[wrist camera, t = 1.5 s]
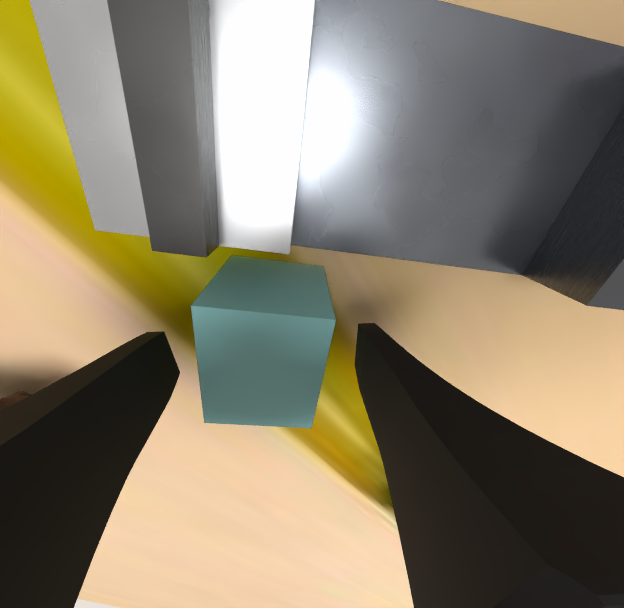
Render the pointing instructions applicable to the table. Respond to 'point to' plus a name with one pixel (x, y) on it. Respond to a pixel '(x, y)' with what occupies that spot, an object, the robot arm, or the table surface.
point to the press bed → (465, 144)
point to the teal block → (263, 342)
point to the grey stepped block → (184, 115)
